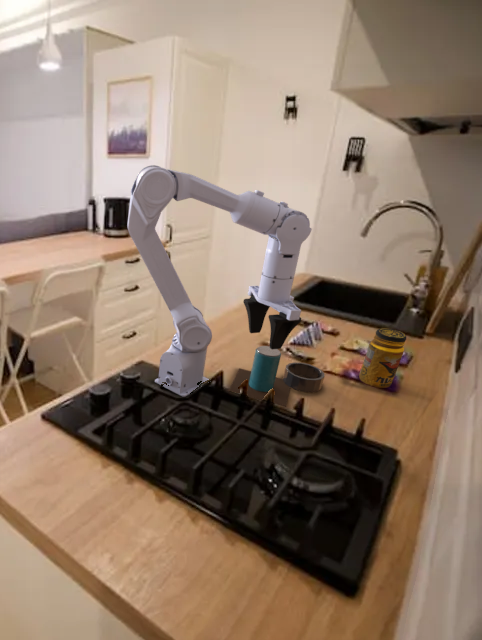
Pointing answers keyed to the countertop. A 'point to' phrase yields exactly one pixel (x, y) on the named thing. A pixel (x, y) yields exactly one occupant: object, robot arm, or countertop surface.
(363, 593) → the countertop surface
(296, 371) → the ring
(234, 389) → the coaster
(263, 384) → the can
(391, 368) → the condiment
